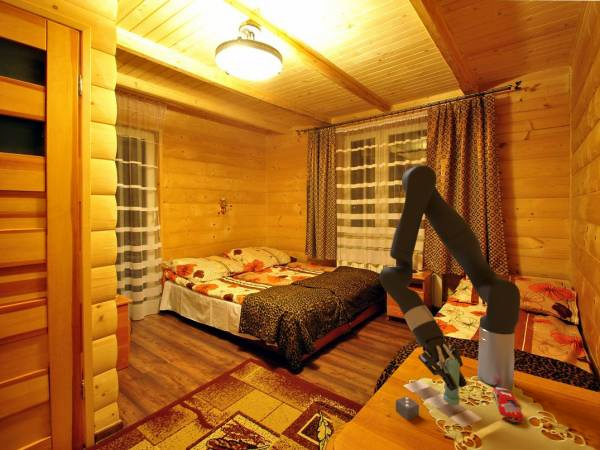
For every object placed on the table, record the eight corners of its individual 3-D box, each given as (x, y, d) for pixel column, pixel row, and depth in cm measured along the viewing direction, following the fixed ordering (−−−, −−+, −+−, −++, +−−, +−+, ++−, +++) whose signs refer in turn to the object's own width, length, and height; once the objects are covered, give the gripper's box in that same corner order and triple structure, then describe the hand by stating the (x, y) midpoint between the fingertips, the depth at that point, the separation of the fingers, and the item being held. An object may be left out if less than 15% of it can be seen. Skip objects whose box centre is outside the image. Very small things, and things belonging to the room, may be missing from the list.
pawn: (449, 394, 84) (451, 354, 83) (462, 402, 81) (464, 360, 80) (440, 398, 82) (442, 357, 82) (452, 406, 79) (454, 363, 78)
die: (406, 410, 82) (407, 394, 82) (418, 419, 79) (419, 403, 79) (395, 415, 81) (395, 398, 80) (407, 424, 77) (407, 407, 77)
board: (420, 383, 96) (420, 379, 96) (483, 422, 78) (483, 418, 78) (401, 389, 92) (401, 385, 92) (462, 432, 74) (462, 427, 74)
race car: (525, 429, 76) (526, 413, 76) (499, 423, 79) (500, 407, 78) (513, 399, 89) (513, 385, 88) (491, 394, 91) (491, 381, 90)
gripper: (412, 322, 84) (450, 390, 74) (447, 315, 90) (487, 377, 80) (397, 334, 89) (431, 399, 79) (432, 327, 95) (467, 386, 85)
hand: (459, 387), depth 79 cm, fingers closed on pawn, 3 cm apart
